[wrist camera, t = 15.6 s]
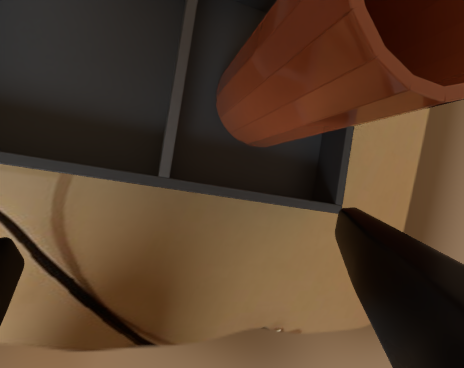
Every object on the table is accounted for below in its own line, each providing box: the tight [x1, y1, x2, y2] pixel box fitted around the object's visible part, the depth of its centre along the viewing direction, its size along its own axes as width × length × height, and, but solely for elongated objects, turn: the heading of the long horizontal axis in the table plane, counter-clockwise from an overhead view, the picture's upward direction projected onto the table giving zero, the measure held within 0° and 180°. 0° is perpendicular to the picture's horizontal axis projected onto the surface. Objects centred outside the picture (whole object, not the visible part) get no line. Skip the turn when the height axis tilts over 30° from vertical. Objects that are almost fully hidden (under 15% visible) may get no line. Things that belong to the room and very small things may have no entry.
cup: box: [216, 0, 464, 147], centre depth 14 cm, size 6×6×13 cm
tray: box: [0, 0, 354, 214], centre depth 17 cm, size 14×24×3 cm, turn 80°
